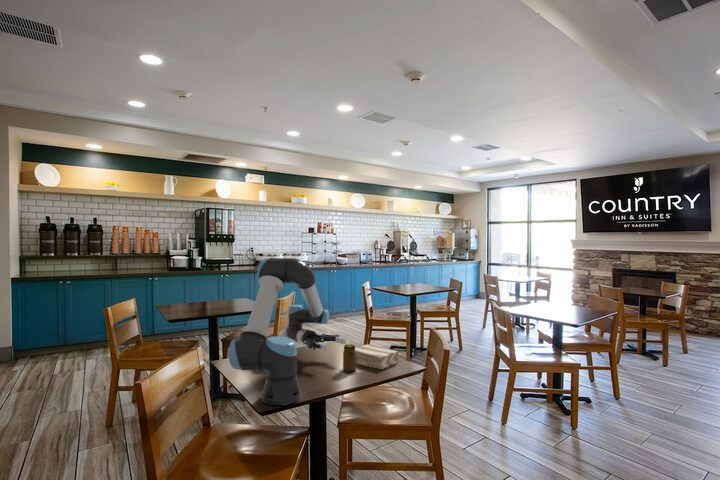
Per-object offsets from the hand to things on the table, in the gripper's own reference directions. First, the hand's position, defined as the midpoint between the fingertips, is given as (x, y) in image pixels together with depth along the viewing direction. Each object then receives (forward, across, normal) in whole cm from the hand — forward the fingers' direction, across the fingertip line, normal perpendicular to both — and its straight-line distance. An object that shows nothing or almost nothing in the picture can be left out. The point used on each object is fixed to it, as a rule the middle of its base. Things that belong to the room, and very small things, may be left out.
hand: (335, 344), depth 190 cm
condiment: (+10, 0, -11) cm, 15 cm away
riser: (+10, -17, -11) cm, 23 cm away
